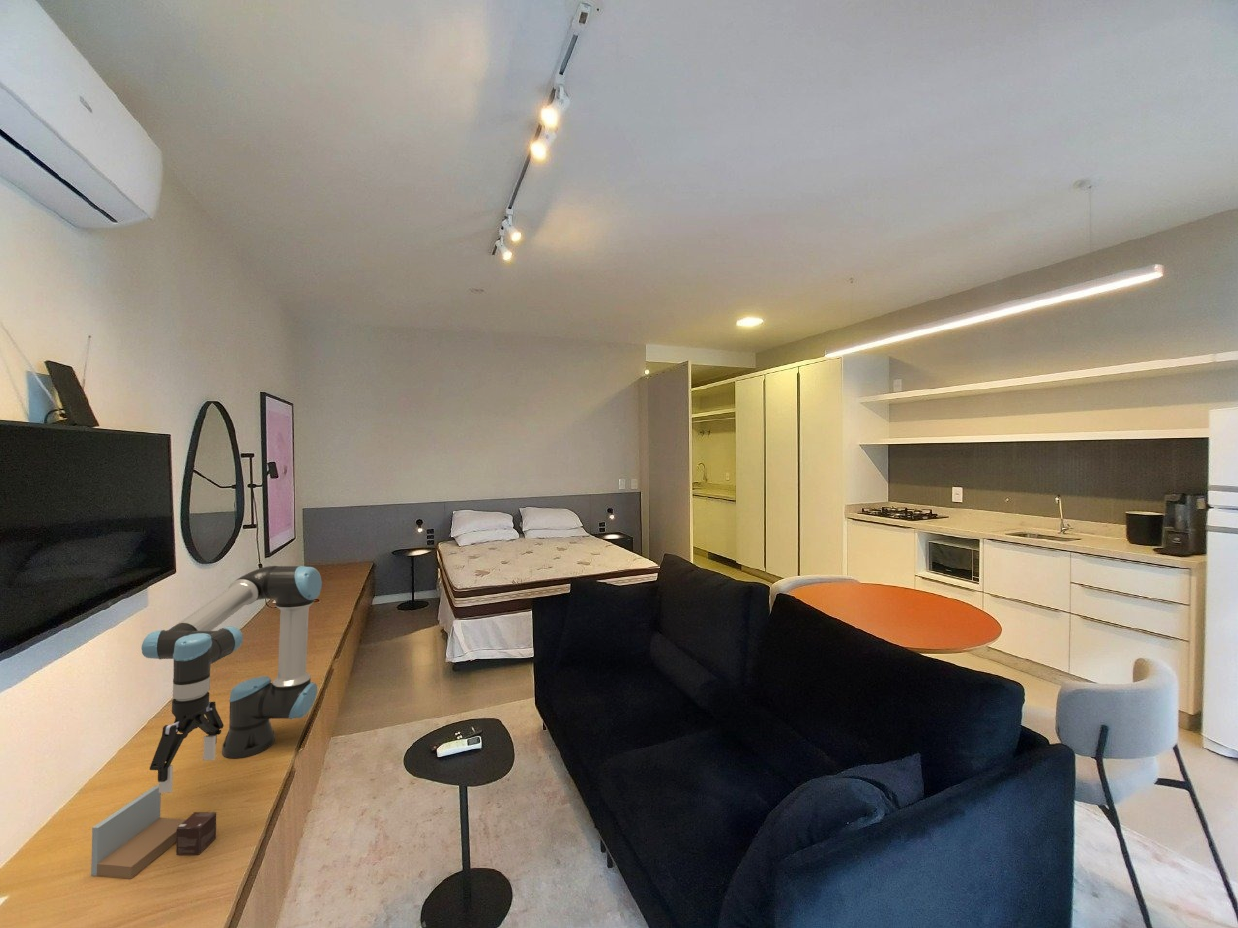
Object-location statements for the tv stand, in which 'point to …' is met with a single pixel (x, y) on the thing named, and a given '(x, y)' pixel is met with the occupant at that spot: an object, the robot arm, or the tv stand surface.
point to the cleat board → (132, 837)
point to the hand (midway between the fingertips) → (188, 775)
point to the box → (196, 833)
